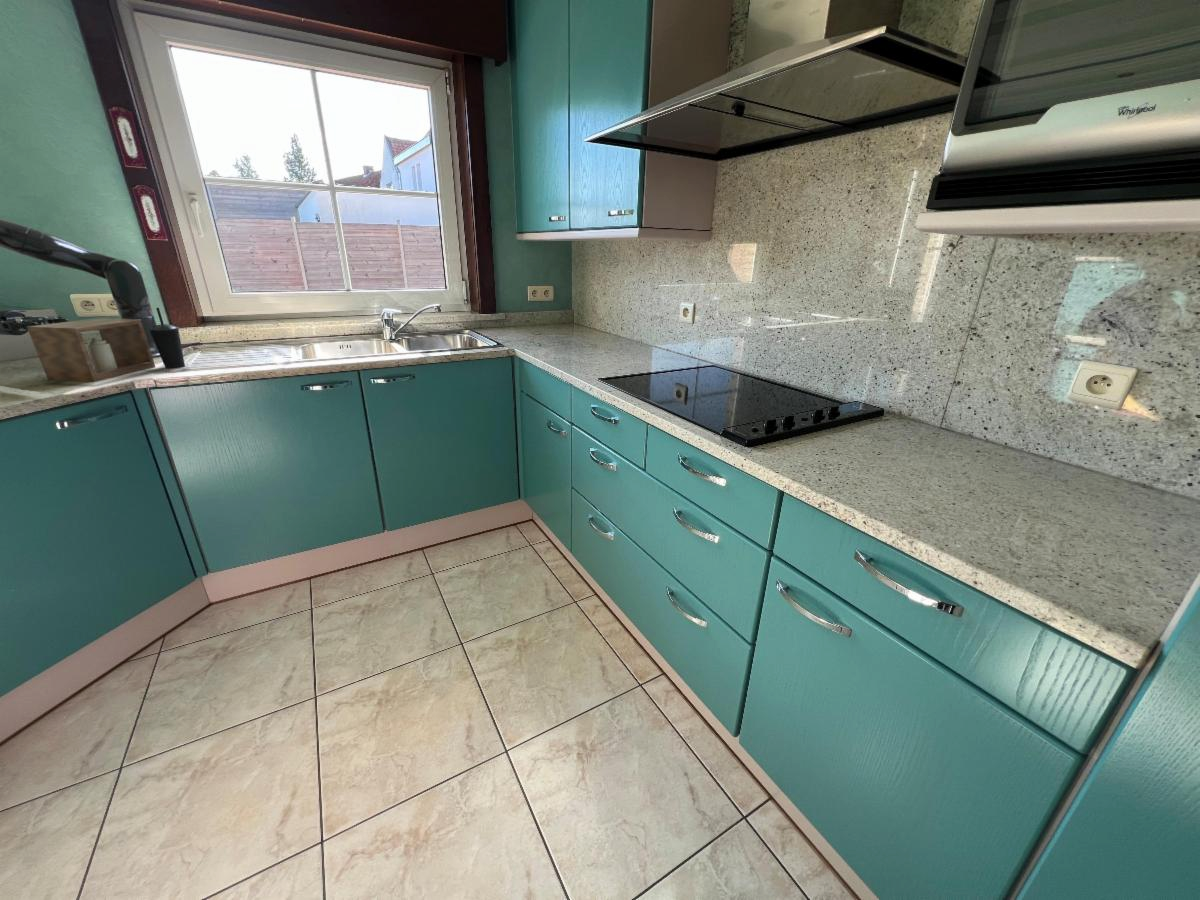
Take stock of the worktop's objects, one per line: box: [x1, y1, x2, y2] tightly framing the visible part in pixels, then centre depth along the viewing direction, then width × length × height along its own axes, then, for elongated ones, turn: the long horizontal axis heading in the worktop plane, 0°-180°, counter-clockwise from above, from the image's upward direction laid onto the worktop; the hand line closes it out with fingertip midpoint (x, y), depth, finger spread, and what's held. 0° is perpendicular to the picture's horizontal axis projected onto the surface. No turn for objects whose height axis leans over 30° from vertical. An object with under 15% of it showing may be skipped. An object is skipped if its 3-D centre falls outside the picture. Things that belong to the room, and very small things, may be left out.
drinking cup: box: [148, 307, 186, 370], centre depth 158 cm, size 8×8×20 cm
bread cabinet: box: [27, 317, 156, 383], centre depth 149 cm, size 14×20×16 cm
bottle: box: [85, 336, 118, 373], centre depth 149 cm, size 5×5×11 cm
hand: (53, 324), depth 146 cm, fingers open, 8 cm apart
